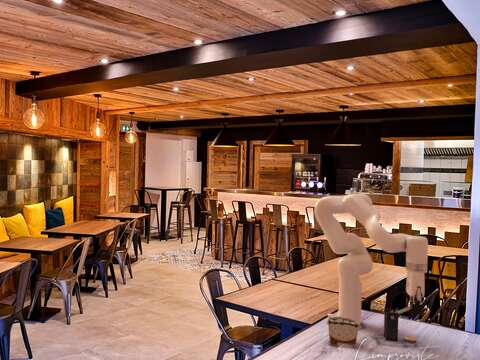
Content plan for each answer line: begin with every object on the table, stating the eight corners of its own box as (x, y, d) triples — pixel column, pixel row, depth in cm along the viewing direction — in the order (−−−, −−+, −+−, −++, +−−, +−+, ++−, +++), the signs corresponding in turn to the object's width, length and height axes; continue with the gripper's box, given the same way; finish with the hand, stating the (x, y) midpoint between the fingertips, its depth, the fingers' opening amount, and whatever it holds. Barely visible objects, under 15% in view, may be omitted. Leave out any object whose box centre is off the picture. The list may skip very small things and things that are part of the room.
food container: (358, 343, 187) (359, 318, 187) (359, 348, 181) (360, 323, 181) (325, 339, 191) (326, 315, 191) (326, 344, 185) (326, 319, 185)
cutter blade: (420, 306, 187) (416, 299, 187) (422, 308, 184) (418, 301, 184) (389, 319, 190) (385, 312, 191) (390, 321, 187) (386, 314, 188)
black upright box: (402, 340, 191) (402, 309, 191) (406, 347, 184) (407, 315, 183) (375, 337, 194) (376, 307, 194) (378, 344, 186) (379, 312, 186)
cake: (404, 345, 185) (404, 338, 185) (402, 341, 190) (402, 334, 190) (417, 347, 184) (417, 340, 184) (414, 343, 188) (415, 336, 188)
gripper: (401, 262, 195) (400, 306, 195) (410, 270, 179) (409, 317, 179) (421, 264, 193) (420, 308, 193) (432, 271, 177) (431, 319, 177)
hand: (415, 312), depth 186 cm, fingers closed on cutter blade, 3 cm apart
